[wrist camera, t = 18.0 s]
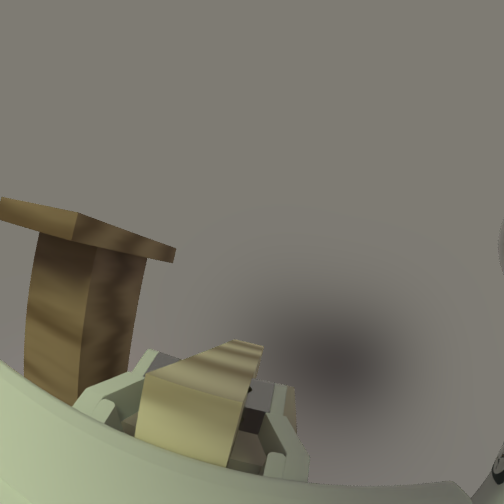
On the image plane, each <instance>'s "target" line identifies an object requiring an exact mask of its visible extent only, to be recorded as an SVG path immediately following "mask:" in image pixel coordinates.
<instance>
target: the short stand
mask: <svg viewBox="0 0 504 504" xmlns="http://www.w3.org/2000/svg"><path fill="white" fill-rule="evenodd" d="M0 220H2V221H5V222H9V223H12V224H15V225H19V226H22V227H25V228H29V229H32V230H35V231H39V232H40V233H39V237H38V242H37V247H36V252H35V257H34V263H33V268H32V275H31V281H30V288H29V296H28V304H27V314H26V327H25V344H24V377H25V378H26V379H28V380H29V381H31V382H32V383H34V384H35V385H37V386H38V387H40V388H41V389H43V390H45V391H46V392H48V393H49V394H51V395H53V396H54V397H56V398H58V399H59V400H61V401H63V402H64V403H66V404H68V405H70V406H71V407H72V406H73V405H74V403H75V402H76V401H77V399H78V398H79V397H80V396H81V394H82V393H83V392H84V390H85V389H86V388H88V387H91V386H93V385H96V384H98V383H101V382H103V381H106V380H108V379H111V378H113V377H116V376H118V375H121V374H123V373H126V372H127V368H128V361H129V354H130V347H131V339H132V334H133V328H134V322H135V316H136V311H137V305H138V300H139V295H140V289H141V284H142V279H143V275H144V270H145V266H146V261H147V258H151V259H155V260H160V261H165V262H169V263H173V260H174V256H175V251H176V248H173V247H171V246H168V245H165V244H162V243H160V242H157V241H154V240H151V239H148V238H146V237H143V236H140V235H137V234H135V233H131V232H129V231H126V230H124V229H121V228H118V227H115V226H113V225H110V224H107V223H105V222H102V221H99V220H97V219H94V218H91V217H88V216H86V215H83V214H81V213H78V212H73V211H68V210H63V209H58V208H53V207H49V206H44V205H39V204H34V203H29V202H24V201H19V200H14V199H9V198H4V197H1V201H0Z"/></svg>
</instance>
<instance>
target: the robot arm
mask: <svg viewBox="0 0 504 504" xmlns="http://www.w3.org/2000/svg"><path fill="white" fill-rule="evenodd" d="M498 252H499V260H500V265H501V268H502V271H503V273H504V219H503V222H502V225H501V228H500V233H499V240H498ZM179 361H181V359H179V358H176V357H173V356H170V355H167V354H164V353H161V352H158V351H155V350H153V349H148V350H147V351H146V352H145V354H144V355H143V356H142V358H141V359H140V361H139V362H138V364H137V365H136V367H135V368H134V369H133V371H132V372H129V371H128V372H126V373H123V374H121V375H118V376H116V377H113V378H111V379H108V380H106V381H103V382H101V383H98V384H96V385H93V386H91V387H88V388H86V389H85V390H84V392H83V393H82V394H81V396H80V397H79V398H78V399H77V401H76V402H75V403H74V405H73V406H72V407H71V406H70V405H68V404H66V403H64V402H63V401H61V400H59V399H58V398H56V397H54V396H53V395H51V394H49V393H48V392H46V391H45V390H43V389H41V388H40V387H38V386H37V385H35V384H34V383H32V382H31V381H29V380H28V379H26V378H25V377H24V376H22V375H21V374H19V373H18V372H17V371H15V370H14V369H12V368H11V367H10V366H8V365H7V364H6V363H4V362H3V361H2V360H1V359H0V504H504V443H503V445H502V448H501V449H500V451H499V454H498V456H497V458H496V460H495V462H494V464H493V467H492V471H491V472H490V474H489V475H488V477H487V478H486V480H485V481H484V482H483V484H482V485H481V487H480V488H479V489H478V490H477V492H476V493H475V494H474V495H473V497H472V498H469V496H468V495H467V494H466V493H465V492H464V491H463V490H462V489H461V488H460V487H459V486H458V485H457V484H455V483H454V482H452V481H442V482H435V483H425V484H414V485H397V486H344V485H329V484H317V483H308V482H307V481H308V472H309V463H310V456H309V454H308V453H307V451H306V449H305V448H304V446H303V444H302V443H301V441H300V439H299V438H298V436H297V434H296V432H295V431H294V429H293V427H292V425H291V424H290V422H289V420H288V418H287V417H286V416H283V413H284V406H285V400H286V393H287V385H282V384H277V383H273V382H268V381H263V380H258V379H254V378H252V379H251V383H250V387H249V391H248V394H247V397H246V401H245V404H244V408H243V412H242V418H241V421H240V425H239V430H240V431H244V432H248V433H252V434H256V435H258V438H259V440H260V443H261V445H262V448H263V450H264V453H265V455H266V460H265V462H264V464H263V466H262V468H261V470H260V472H259V474H258V475H256V474H251V473H246V472H242V471H237V470H233V469H229V468H225V467H221V466H217V465H214V464H210V463H206V462H203V461H199V460H196V459H193V458H190V457H187V456H183V455H180V454H177V453H174V452H172V451H169V450H166V449H163V448H160V447H158V446H155V445H152V444H150V443H147V442H145V441H142V440H140V439H137V438H135V437H133V436H130V435H128V434H126V433H124V430H123V427H122V425H121V421H123V420H125V419H126V418H128V417H130V416H131V415H133V414H135V413H136V412H138V411H139V406H140V400H141V395H142V390H143V384H144V379H145V374H146V373H148V372H151V371H154V370H156V369H159V368H162V367H165V366H167V365H170V364H173V363H176V362H179Z"/></svg>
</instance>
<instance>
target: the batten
mask: <svg viewBox="0 0 504 504" xmlns="http://www.w3.org/2000/svg"><path fill="white" fill-rule="evenodd" d="M263 348H264V346H261V345H256V344H252V343H248V342H243V341H239V340H232V341H229V342H227V343H225V344H222V345H220V346H217V347H215V348H212V349H210V350H207V351H205V352H202V353H199V354H197V355H194V356H192V357H189V358H186V359H184V360H181V361H179V362H176V363H173V364H170V365H167V366H165V367H162V368H159V369H156V370H154V371H151V372H148V373H146V374H145V379H144V384H143V390H142V395H141V400H140V406H139V412H138V418H137V424H136V430H135V436H134V437H135V438H137V439H140V440H142V441H145V442H147V443H150V444H152V445H155V446H158V447H160V448H163V449H166V450H169V451H172V452H174V453H177V454H180V455H183V456H187V457H190V458H193V459H196V460H199V461H203V462H206V463H210V464H214V465H217V466H221V467H225V468H227V466H228V463H229V460H230V457H231V454H232V451H233V448H234V445H235V442H236V439H237V436H238V433H239V425H240V421H241V418H242V412H243V408H244V404H245V401H246V397H247V394H248V391H249V387H250V383H251V379H252V378H254V379H256V376H257V373H258V368H259V364H260V361H261V356H262V352H263Z"/></svg>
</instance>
